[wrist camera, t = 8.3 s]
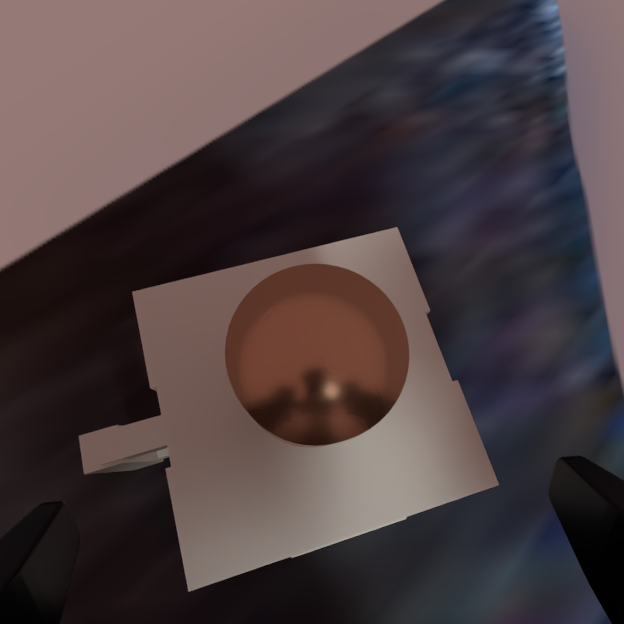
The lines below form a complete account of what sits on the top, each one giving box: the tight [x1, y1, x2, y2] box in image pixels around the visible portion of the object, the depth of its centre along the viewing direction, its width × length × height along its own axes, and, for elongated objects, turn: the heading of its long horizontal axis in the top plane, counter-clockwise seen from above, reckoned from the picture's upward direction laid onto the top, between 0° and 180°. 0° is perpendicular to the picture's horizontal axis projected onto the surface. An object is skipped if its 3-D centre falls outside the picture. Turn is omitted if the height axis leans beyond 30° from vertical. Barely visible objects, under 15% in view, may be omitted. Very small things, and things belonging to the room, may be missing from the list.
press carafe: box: [79, 227, 499, 592], centre depth 14 cm, size 8×10×6 cm
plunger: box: [225, 264, 409, 448], centre depth 12 cm, size 5×5×9 cm
